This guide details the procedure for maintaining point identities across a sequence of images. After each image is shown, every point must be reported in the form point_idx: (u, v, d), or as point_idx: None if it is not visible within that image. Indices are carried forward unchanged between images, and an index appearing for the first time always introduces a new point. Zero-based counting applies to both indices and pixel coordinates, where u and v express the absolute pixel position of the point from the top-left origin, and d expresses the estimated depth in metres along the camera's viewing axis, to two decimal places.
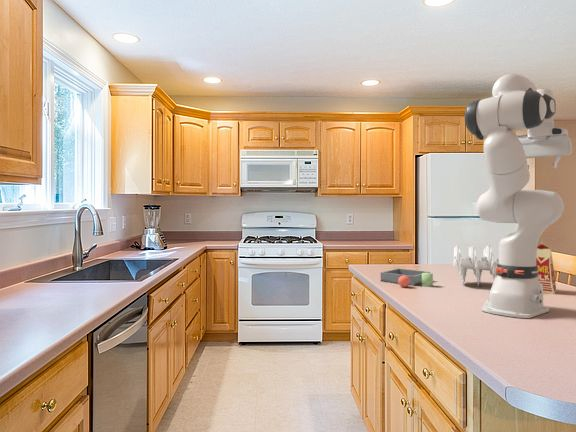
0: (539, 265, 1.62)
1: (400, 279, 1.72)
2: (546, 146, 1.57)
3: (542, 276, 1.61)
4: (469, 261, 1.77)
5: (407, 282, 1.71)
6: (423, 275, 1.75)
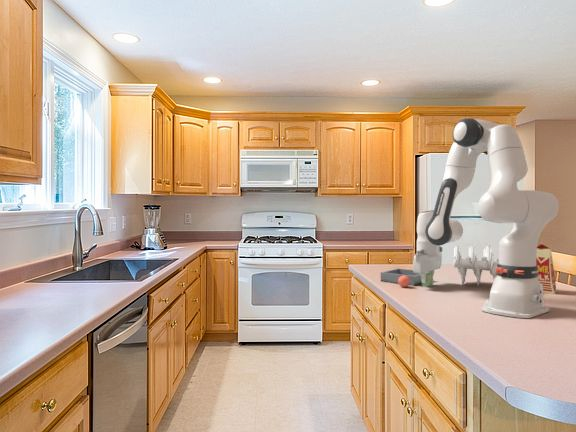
0: (539, 265, 1.62)
1: (400, 279, 1.72)
2: (433, 261, 1.76)
3: (542, 276, 1.61)
4: (469, 261, 1.77)
5: (407, 282, 1.71)
6: None
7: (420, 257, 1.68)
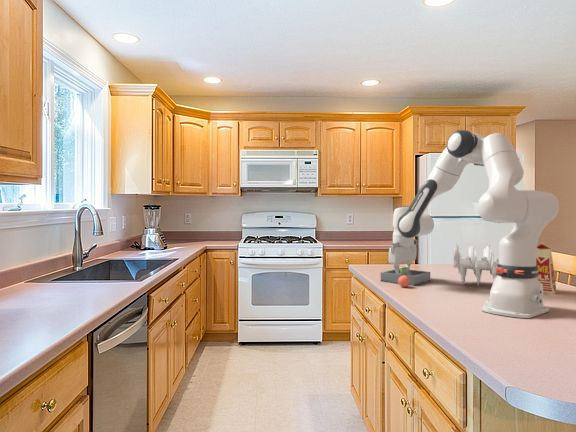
0: (539, 265, 1.62)
1: (400, 279, 1.72)
2: (408, 253, 1.89)
3: (542, 276, 1.61)
4: (469, 261, 1.77)
5: (407, 282, 1.71)
6: None
7: (395, 249, 1.81)
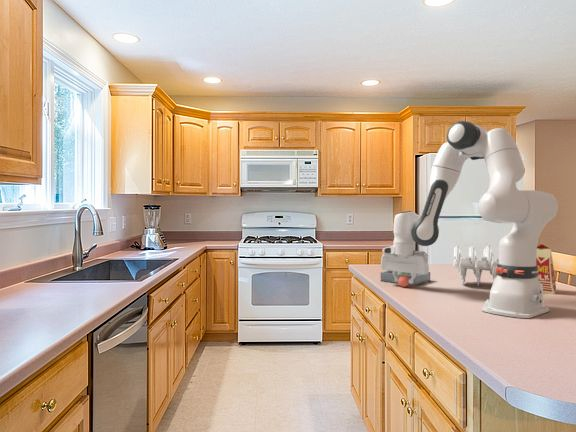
0: (539, 265, 1.62)
1: (400, 279, 1.72)
2: None
3: (542, 276, 1.61)
4: (469, 261, 1.77)
5: (407, 282, 1.71)
6: None
7: None
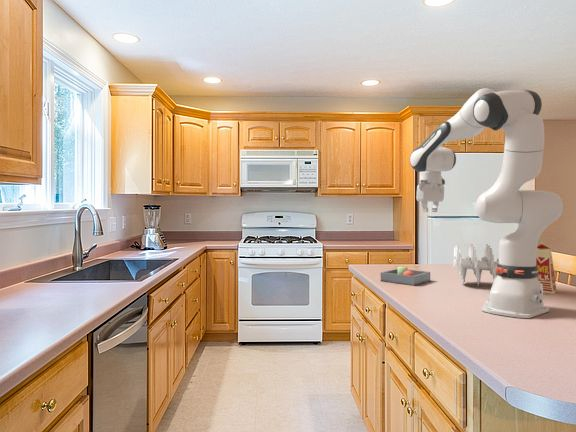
0: (539, 265, 1.62)
1: None
2: (436, 193, 1.82)
3: (542, 276, 1.61)
4: (469, 261, 1.77)
5: None
6: (398, 269, 1.88)
7: (423, 185, 1.74)
